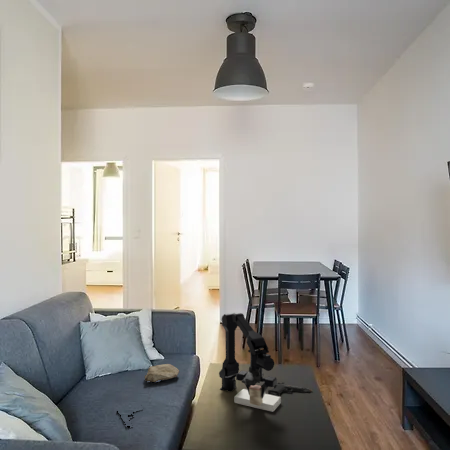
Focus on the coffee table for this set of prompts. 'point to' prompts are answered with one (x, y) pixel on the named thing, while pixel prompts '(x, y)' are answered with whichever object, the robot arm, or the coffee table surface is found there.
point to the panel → (268, 402)
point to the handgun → (286, 389)
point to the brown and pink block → (255, 395)
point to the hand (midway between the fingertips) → (256, 396)
